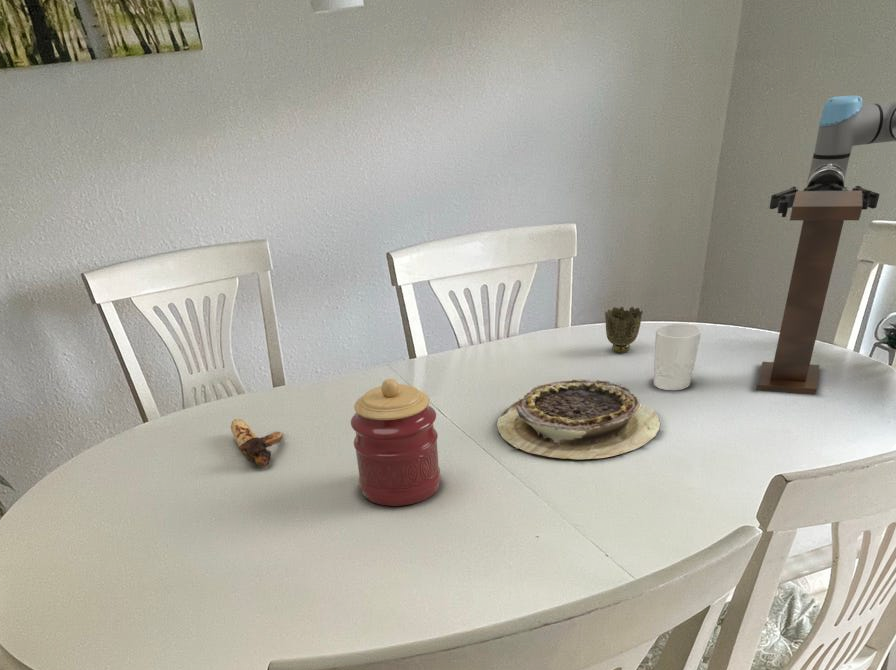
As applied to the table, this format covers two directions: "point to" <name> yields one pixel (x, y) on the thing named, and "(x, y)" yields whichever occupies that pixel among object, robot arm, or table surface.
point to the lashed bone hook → (254, 442)
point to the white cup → (675, 355)
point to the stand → (808, 288)
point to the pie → (578, 420)
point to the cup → (622, 327)
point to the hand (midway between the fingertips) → (821, 209)
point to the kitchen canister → (396, 445)
